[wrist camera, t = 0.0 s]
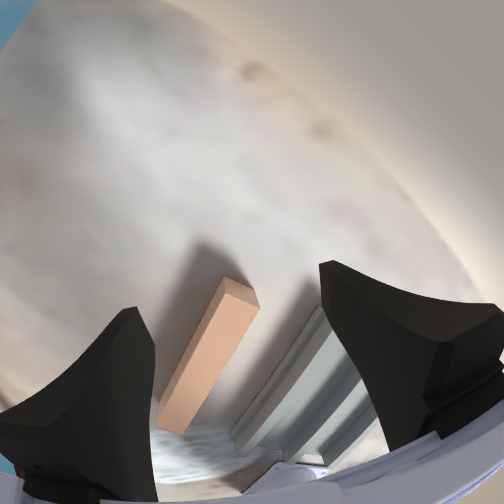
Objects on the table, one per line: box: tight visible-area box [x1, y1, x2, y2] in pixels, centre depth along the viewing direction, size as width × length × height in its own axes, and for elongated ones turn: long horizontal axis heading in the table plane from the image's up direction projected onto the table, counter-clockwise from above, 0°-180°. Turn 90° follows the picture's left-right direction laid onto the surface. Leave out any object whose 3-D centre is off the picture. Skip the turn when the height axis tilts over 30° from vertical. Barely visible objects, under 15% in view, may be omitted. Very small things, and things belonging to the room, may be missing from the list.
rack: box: [230, 305, 380, 469], centre depth 25 cm, size 16×13×3 cm
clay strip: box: [155, 276, 260, 435], centre depth 22 cm, size 14×2×4 cm, turn 152°
